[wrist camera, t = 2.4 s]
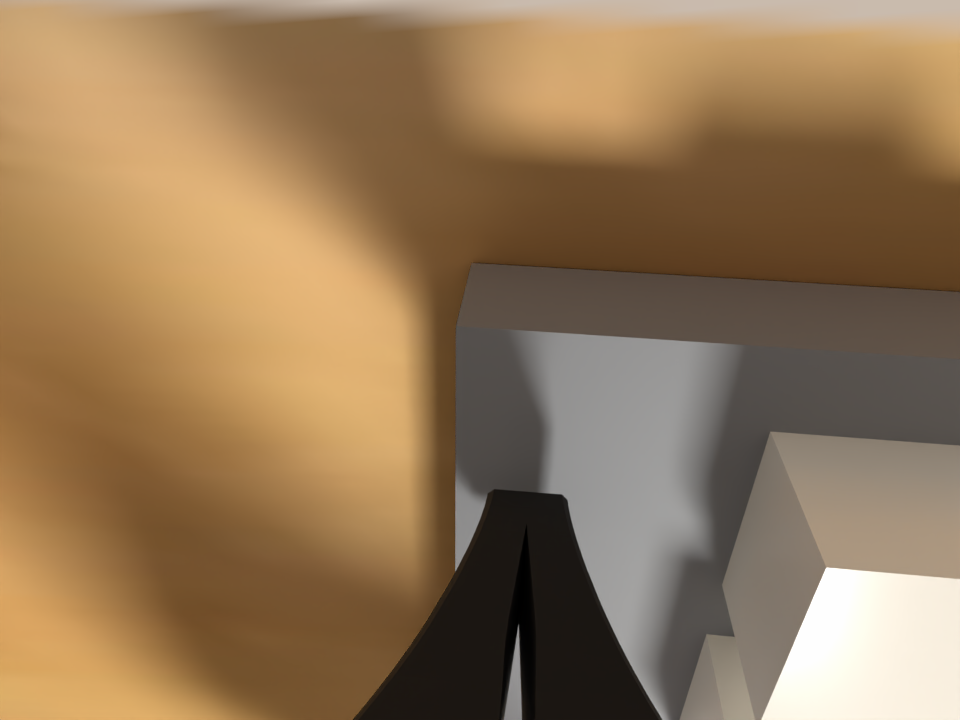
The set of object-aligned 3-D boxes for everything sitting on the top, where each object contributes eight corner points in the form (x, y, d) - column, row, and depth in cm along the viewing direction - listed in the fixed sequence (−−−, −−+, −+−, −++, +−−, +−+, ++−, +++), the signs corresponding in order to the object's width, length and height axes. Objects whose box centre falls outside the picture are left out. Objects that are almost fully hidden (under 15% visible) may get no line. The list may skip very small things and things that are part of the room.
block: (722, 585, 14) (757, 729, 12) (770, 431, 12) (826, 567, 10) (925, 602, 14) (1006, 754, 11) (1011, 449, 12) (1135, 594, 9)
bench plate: (465, 663, 21) (454, 748, 19) (471, 263, 14) (455, 326, 12) (882, 705, 20) (921, 798, 18) (1119, 301, 13) (1229, 376, 11)
